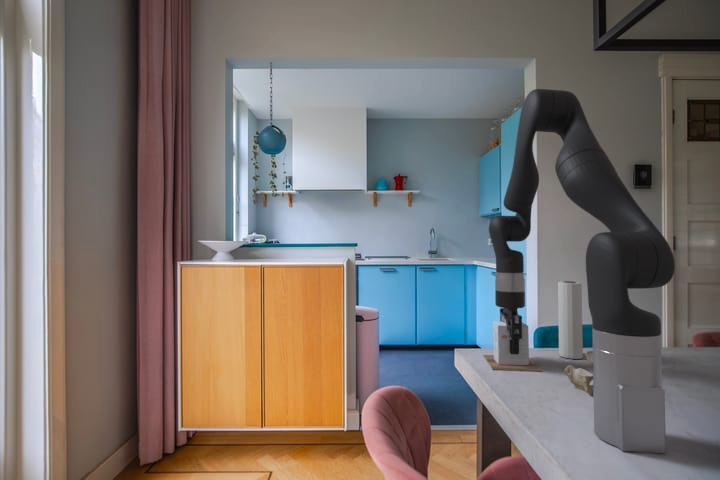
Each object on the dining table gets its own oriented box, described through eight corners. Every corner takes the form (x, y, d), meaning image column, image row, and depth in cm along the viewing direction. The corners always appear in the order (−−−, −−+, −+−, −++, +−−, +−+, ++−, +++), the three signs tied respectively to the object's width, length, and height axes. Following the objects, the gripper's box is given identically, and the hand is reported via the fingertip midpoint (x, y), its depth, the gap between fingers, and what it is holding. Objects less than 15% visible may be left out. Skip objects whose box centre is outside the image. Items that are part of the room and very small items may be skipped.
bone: (561, 386, 83) (565, 341, 87) (562, 393, 88) (567, 350, 92) (609, 397, 78) (611, 349, 83) (608, 404, 83) (610, 358, 87)
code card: (542, 371, 98) (542, 371, 98) (492, 369, 100) (492, 369, 100) (526, 356, 112) (526, 356, 112) (483, 355, 113) (483, 354, 113)
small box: (522, 359, 108) (522, 321, 108) (529, 365, 102) (529, 325, 103) (492, 359, 109) (492, 321, 109) (498, 365, 103) (497, 324, 104)
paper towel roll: (573, 360, 108) (572, 282, 108) (554, 355, 113) (553, 281, 114) (590, 357, 111) (589, 281, 112) (570, 352, 116) (569, 280, 117)
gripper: (532, 292, 99) (533, 358, 98) (517, 287, 113) (518, 344, 112) (501, 291, 100) (502, 357, 99) (490, 286, 114) (490, 343, 113)
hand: (510, 350), depth 106 cm, fingers open, 7 cm apart
